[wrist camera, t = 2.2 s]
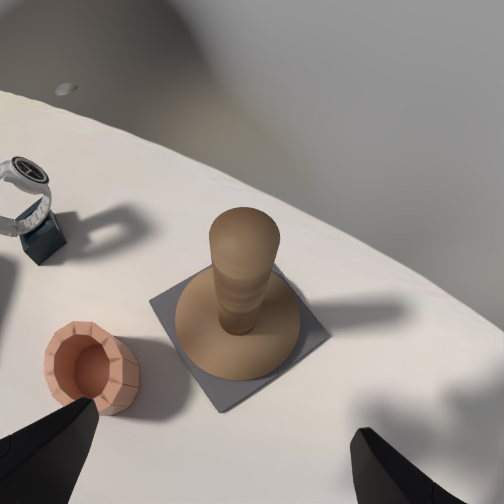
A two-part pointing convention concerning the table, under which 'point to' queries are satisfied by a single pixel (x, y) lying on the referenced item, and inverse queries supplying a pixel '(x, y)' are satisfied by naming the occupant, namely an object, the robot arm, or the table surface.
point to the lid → (239, 301)
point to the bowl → (91, 367)
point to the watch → (32, 211)
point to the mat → (229, 390)
